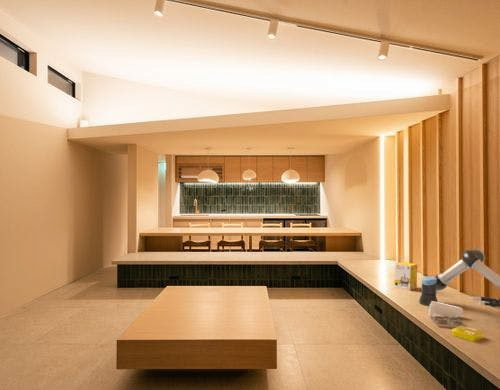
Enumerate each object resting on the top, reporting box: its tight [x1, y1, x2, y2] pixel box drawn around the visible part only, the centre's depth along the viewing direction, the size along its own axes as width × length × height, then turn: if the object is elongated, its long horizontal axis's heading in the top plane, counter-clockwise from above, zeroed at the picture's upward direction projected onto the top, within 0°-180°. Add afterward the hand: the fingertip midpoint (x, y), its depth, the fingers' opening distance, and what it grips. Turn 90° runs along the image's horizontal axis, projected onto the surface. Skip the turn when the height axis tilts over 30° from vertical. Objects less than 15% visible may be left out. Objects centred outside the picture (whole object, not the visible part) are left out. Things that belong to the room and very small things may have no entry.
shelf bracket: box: [427, 301, 464, 318], centre depth 282 cm, size 6×25×13 cm, turn 92°
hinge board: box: [430, 315, 470, 330], centre depth 265 cm, size 20×20×4 cm
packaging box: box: [393, 261, 418, 291], centre depth 375 cm, size 16×16×25 cm
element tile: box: [451, 326, 485, 343], centre depth 242 cm, size 15×15×5 cm
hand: (475, 300), depth 278 cm, fingers open, 13 cm apart
